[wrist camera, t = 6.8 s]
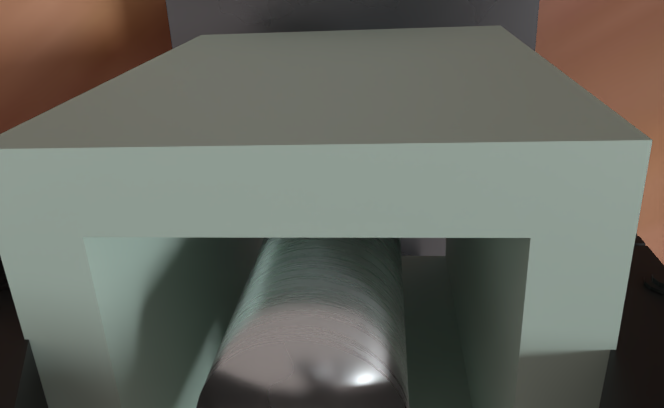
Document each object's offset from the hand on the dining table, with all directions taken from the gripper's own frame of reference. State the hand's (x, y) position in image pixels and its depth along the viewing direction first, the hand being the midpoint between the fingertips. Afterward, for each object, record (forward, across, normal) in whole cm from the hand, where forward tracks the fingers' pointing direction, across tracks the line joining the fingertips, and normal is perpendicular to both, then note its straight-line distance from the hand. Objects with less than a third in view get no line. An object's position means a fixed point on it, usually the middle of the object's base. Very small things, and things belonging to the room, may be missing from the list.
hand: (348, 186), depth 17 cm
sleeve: (+1, 0, 0) cm, 1 cm away
